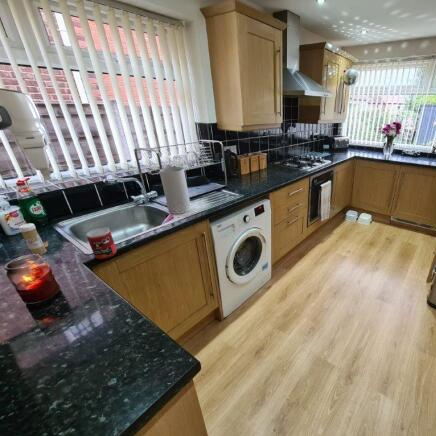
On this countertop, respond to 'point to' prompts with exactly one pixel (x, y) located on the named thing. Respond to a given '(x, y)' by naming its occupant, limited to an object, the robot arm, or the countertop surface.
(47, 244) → the cork coaster
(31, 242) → the sprinkles bottle
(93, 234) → the canned food
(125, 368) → the countertop surface
